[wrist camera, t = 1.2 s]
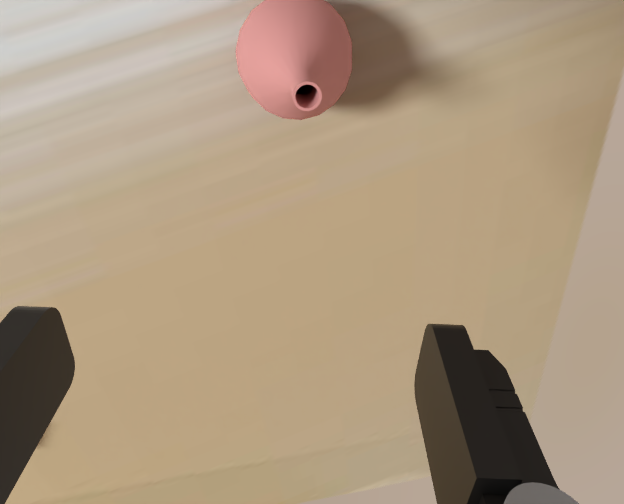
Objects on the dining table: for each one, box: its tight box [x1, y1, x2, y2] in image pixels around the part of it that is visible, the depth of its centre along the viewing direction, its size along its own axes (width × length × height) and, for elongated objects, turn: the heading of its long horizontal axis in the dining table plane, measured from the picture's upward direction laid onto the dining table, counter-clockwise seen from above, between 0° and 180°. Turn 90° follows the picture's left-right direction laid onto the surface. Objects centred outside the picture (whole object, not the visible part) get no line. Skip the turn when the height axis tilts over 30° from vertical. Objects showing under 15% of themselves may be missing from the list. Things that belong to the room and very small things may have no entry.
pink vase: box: [236, 0, 352, 120], centre depth 30 cm, size 8×8×12 cm
